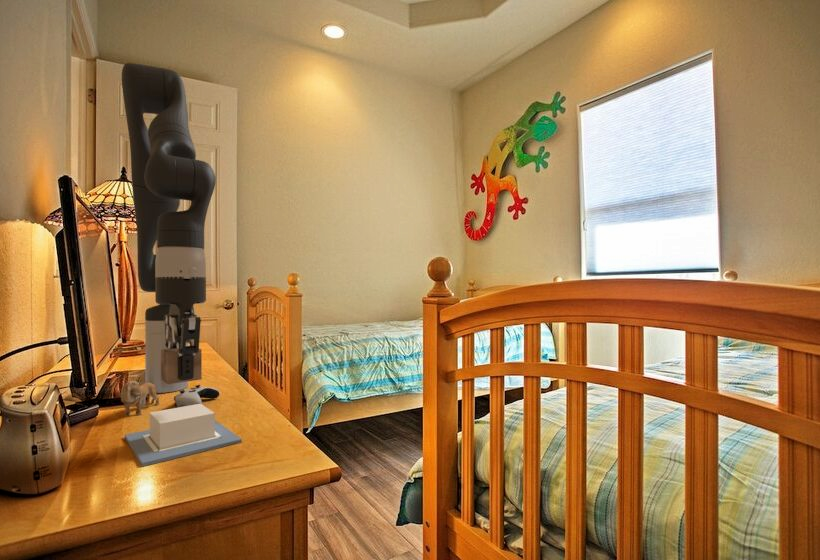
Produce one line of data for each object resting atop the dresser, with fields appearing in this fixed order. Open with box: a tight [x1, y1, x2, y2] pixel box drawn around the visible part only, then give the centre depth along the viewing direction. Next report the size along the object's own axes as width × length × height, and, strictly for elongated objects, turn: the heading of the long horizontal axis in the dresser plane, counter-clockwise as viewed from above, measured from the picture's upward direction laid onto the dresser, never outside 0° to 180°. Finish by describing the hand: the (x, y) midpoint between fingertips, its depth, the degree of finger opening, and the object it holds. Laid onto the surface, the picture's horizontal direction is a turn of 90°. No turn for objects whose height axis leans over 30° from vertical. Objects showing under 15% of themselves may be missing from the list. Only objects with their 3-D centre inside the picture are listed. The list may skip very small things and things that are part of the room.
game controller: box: [173, 384, 221, 408], centre depth 92 cm, size 10×5×6 cm
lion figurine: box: [120, 380, 160, 418], centre depth 88 cm, size 12×4×7 cm, turn 11°
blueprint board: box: [124, 419, 243, 467], centre depth 71 cm, size 16×14×1 cm
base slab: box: [149, 403, 216, 450], centre depth 71 cm, size 8×8×4 cm
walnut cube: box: [161, 348, 203, 384], centre depth 71 cm, size 5×5×5 cm
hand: (181, 376), depth 71 cm, fingers closed on walnut cube, 5 cm apart
